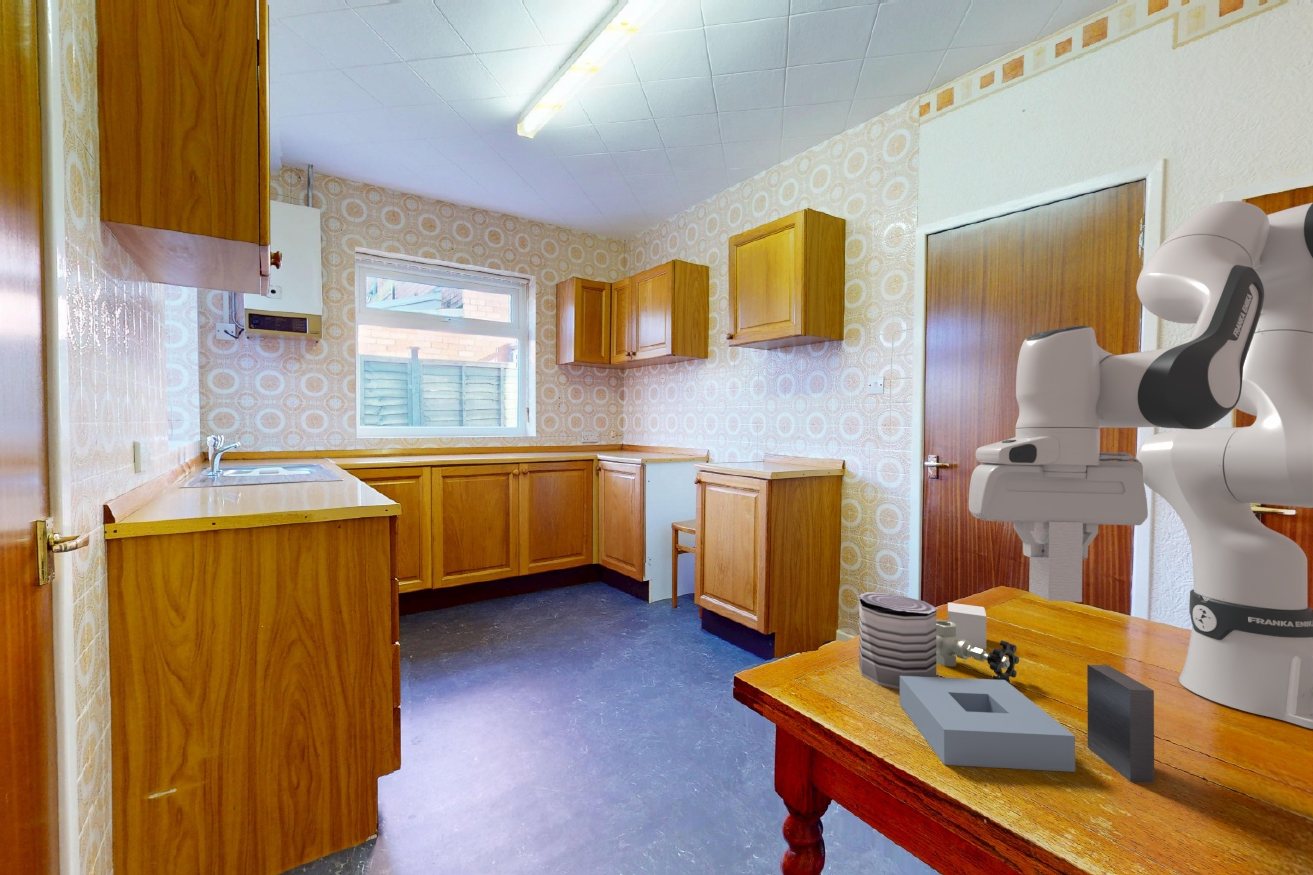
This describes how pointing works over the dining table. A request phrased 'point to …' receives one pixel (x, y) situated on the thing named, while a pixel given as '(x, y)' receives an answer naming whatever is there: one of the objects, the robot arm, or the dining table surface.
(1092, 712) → the dark grey rectangular slab
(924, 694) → the bore block
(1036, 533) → the square bit
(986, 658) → the valve
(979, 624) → the white cube
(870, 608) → the can
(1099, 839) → the dining table surface
